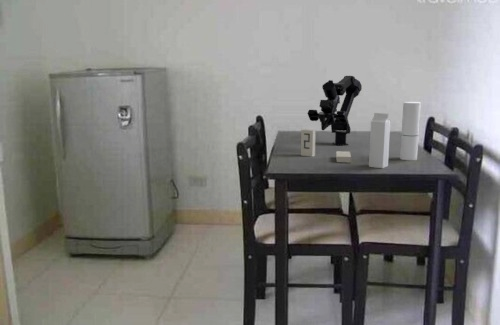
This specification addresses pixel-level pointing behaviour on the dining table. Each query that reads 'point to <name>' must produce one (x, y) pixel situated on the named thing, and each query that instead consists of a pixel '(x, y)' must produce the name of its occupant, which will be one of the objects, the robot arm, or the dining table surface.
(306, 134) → the tile two
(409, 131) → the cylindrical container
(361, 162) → the dining table surface
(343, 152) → the tile one
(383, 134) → the milk
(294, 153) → the dining table surface
